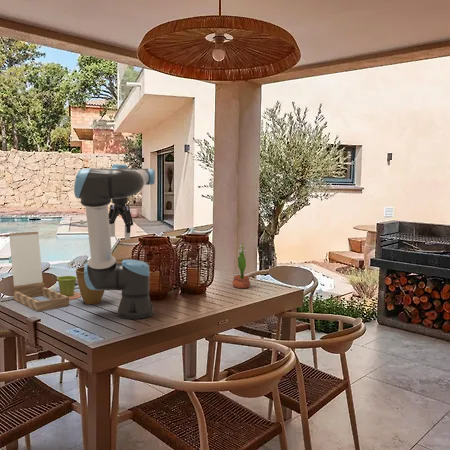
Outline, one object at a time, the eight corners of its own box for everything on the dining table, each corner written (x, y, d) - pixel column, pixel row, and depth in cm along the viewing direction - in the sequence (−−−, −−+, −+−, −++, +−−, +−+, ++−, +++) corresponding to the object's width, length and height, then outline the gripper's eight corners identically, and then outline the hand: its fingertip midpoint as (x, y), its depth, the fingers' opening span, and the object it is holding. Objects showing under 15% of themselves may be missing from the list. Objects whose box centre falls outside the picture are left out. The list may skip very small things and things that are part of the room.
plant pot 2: (68, 303, 210) (68, 269, 208) (92, 296, 223) (92, 264, 221) (92, 308, 203) (92, 273, 201) (115, 301, 216) (115, 268, 214)
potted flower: (230, 284, 258) (231, 240, 255) (248, 284, 259) (249, 241, 256) (233, 289, 246) (234, 243, 243) (251, 289, 247) (252, 243, 244)
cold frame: (69, 305, 206) (69, 292, 206) (38, 311, 196) (37, 298, 195) (43, 294, 224) (43, 282, 224) (13, 299, 214) (13, 287, 214)
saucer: (86, 297, 222) (86, 295, 222) (60, 301, 212) (60, 300, 212) (73, 292, 231) (73, 290, 231) (48, 296, 221) (48, 294, 221)
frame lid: (38, 231, 224) (37, 231, 225) (9, 233, 214) (8, 233, 215) (42, 282, 224) (41, 282, 224) (14, 286, 214) (13, 286, 214)
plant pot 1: (80, 293, 226) (80, 276, 225) (72, 298, 217) (71, 280, 216) (62, 292, 227) (62, 275, 226) (53, 297, 217) (53, 279, 217)
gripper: (140, 196, 218) (140, 240, 220) (112, 194, 236) (112, 235, 238) (127, 196, 213) (127, 241, 215) (99, 194, 230) (99, 236, 232)
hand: (119, 238), depth 226 cm, fingers open, 13 cm apart
